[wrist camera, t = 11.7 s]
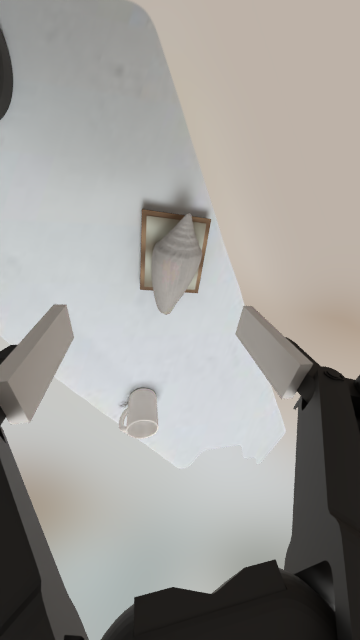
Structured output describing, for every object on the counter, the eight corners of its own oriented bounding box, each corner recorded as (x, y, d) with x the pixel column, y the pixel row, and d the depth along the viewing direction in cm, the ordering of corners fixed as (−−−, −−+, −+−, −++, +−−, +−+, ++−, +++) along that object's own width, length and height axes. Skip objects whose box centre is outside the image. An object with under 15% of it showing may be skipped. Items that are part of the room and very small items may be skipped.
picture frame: (142, 209, 34) (141, 209, 31) (206, 218, 36) (211, 219, 33) (140, 284, 41) (140, 290, 38) (194, 288, 43) (198, 293, 40)
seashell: (172, 258, 43) (201, 209, 29) (193, 304, 42) (232, 277, 28) (136, 268, 40) (149, 218, 26) (158, 318, 39) (184, 295, 25)
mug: (128, 413, 61) (126, 447, 53) (112, 399, 57) (107, 434, 48) (161, 398, 60) (163, 430, 51) (147, 383, 56) (147, 415, 47)
